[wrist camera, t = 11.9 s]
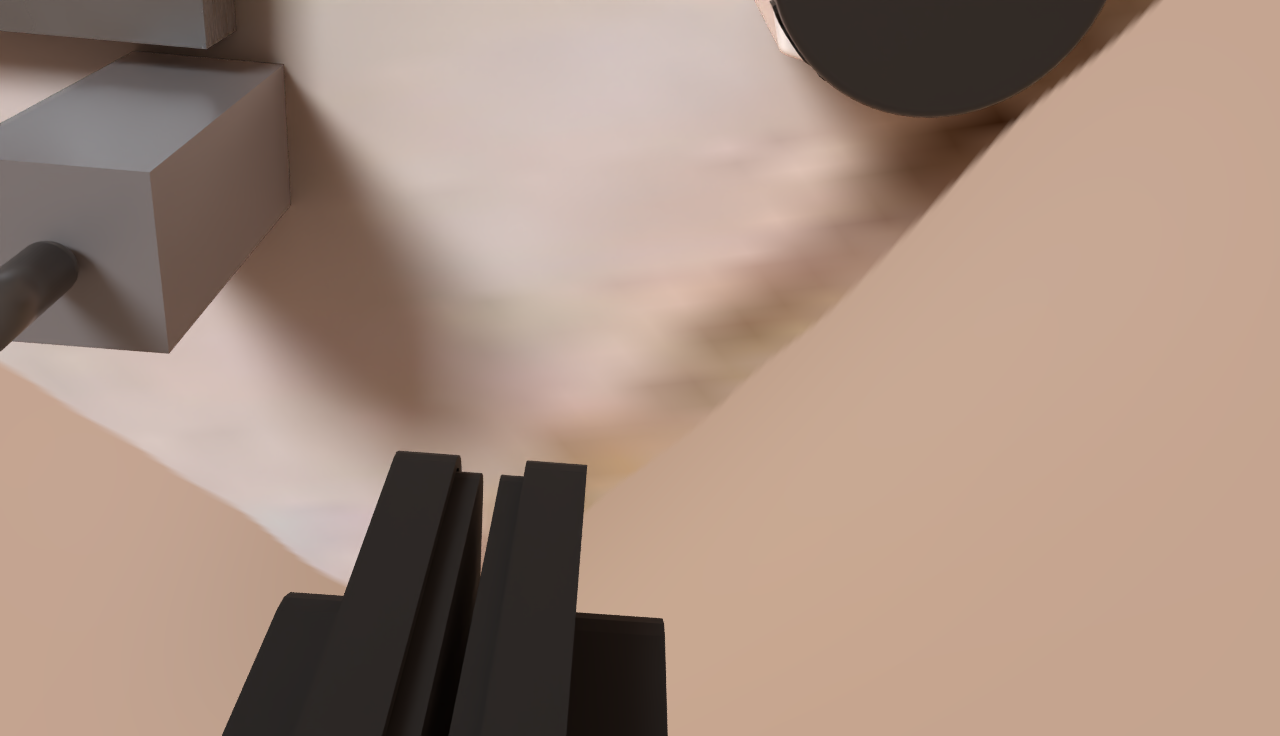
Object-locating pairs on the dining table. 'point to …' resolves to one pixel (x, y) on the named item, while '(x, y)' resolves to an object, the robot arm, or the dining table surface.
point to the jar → (929, 47)
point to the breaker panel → (124, 20)
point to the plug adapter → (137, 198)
